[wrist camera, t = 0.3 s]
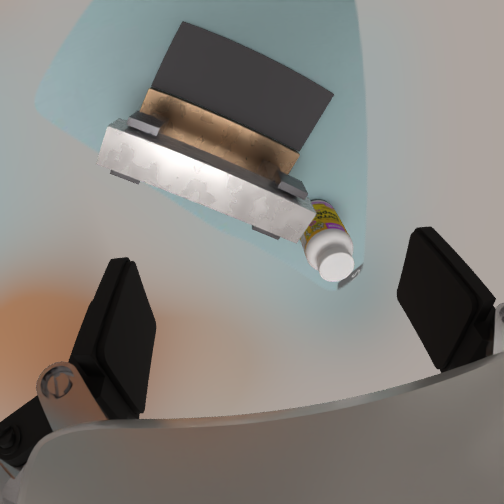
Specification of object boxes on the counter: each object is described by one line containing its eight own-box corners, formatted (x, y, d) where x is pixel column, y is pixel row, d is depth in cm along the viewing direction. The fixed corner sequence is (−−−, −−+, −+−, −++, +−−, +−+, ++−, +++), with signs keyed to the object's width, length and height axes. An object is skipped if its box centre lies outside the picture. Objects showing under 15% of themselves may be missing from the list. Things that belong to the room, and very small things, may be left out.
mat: (183, 21, 31) (182, 21, 31) (332, 93, 38) (334, 94, 38) (152, 85, 36) (151, 86, 36) (298, 150, 43) (299, 151, 43)
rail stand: (151, 87, 36) (119, 103, 25) (297, 151, 43) (323, 192, 32) (130, 139, 40) (95, 176, 29) (270, 196, 47) (285, 250, 36)
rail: (119, 117, 28) (107, 126, 25) (309, 198, 35) (316, 213, 32) (107, 152, 30) (96, 164, 27) (290, 226, 37) (296, 243, 34)
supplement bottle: (335, 196, 48) (365, 243, 37) (334, 232, 52) (359, 283, 41) (293, 200, 48) (312, 249, 37) (294, 237, 52) (311, 291, 41)
